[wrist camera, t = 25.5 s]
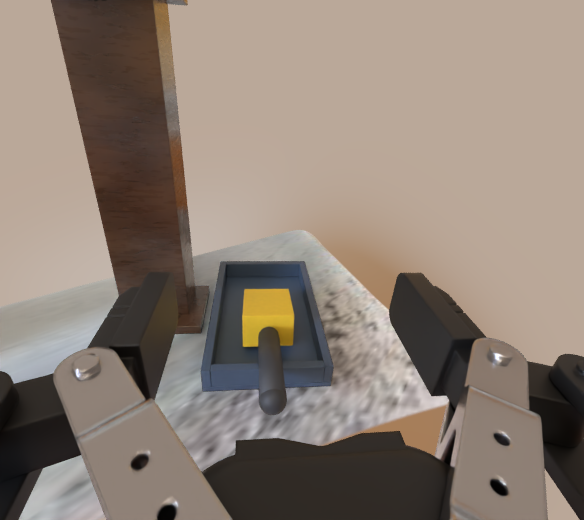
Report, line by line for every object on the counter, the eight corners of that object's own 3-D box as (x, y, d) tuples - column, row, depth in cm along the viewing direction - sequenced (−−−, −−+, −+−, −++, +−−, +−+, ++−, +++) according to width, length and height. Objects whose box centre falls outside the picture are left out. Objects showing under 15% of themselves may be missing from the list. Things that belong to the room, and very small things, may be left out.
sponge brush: (237, 431, 24) (236, 392, 22) (244, 316, 39) (244, 288, 37) (307, 427, 24) (310, 388, 23) (287, 315, 39) (288, 288, 38)
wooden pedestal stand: (103, 335, 35) (-10, -76, 20) (128, 293, 42) (58, -36, 27) (201, 333, 36) (163, -58, 21) (209, 292, 43) (185, -24, 28)
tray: (202, 391, 30) (200, 371, 28) (221, 276, 47) (220, 261, 46) (330, 385, 31) (333, 366, 30) (303, 276, 48) (304, 261, 47)
